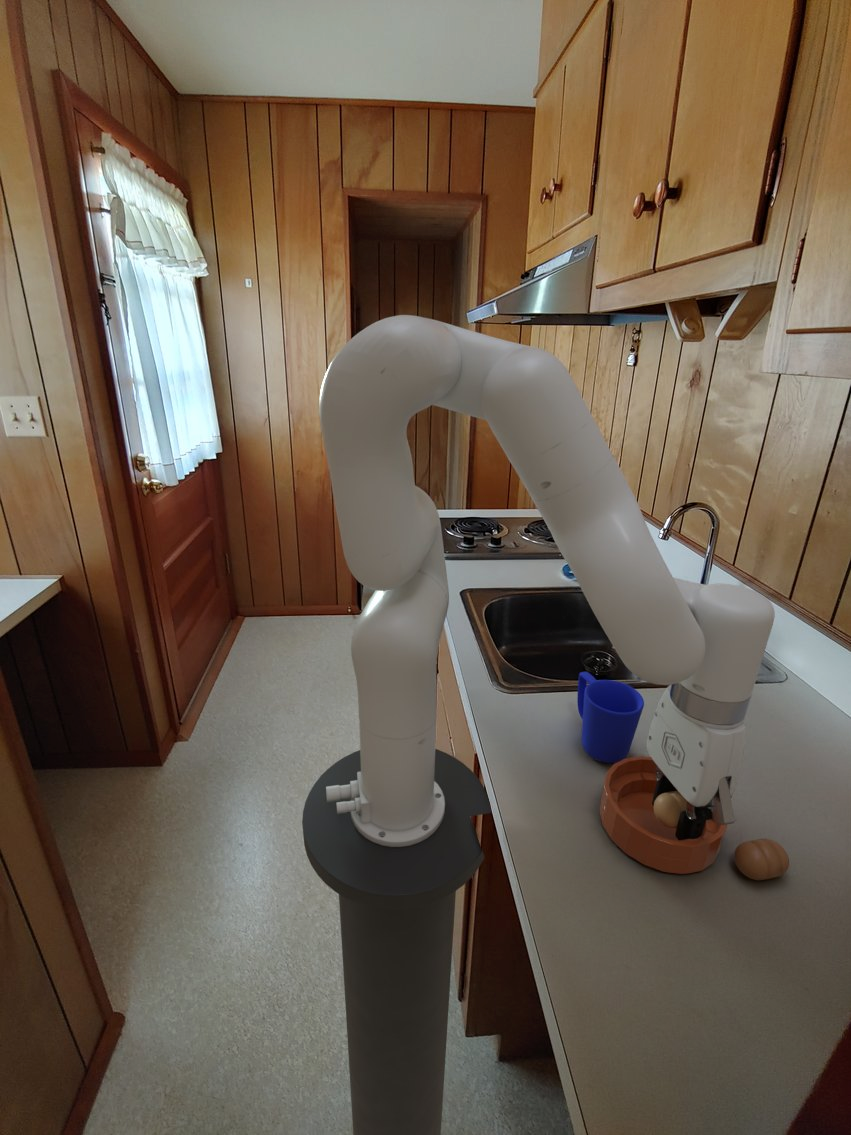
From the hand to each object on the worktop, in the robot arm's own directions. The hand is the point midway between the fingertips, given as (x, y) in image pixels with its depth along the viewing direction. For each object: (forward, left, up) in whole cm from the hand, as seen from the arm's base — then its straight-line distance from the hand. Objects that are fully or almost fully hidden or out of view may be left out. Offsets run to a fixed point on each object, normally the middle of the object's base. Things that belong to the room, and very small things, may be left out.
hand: (675, 819), depth 67 cm
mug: (0, +19, -4) cm, 19 cm away
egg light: (0, 0, 0) cm, 0 cm away
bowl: (0, +3, -4) cm, 5 cm away
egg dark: (+8, -5, -4) cm, 10 cm away
